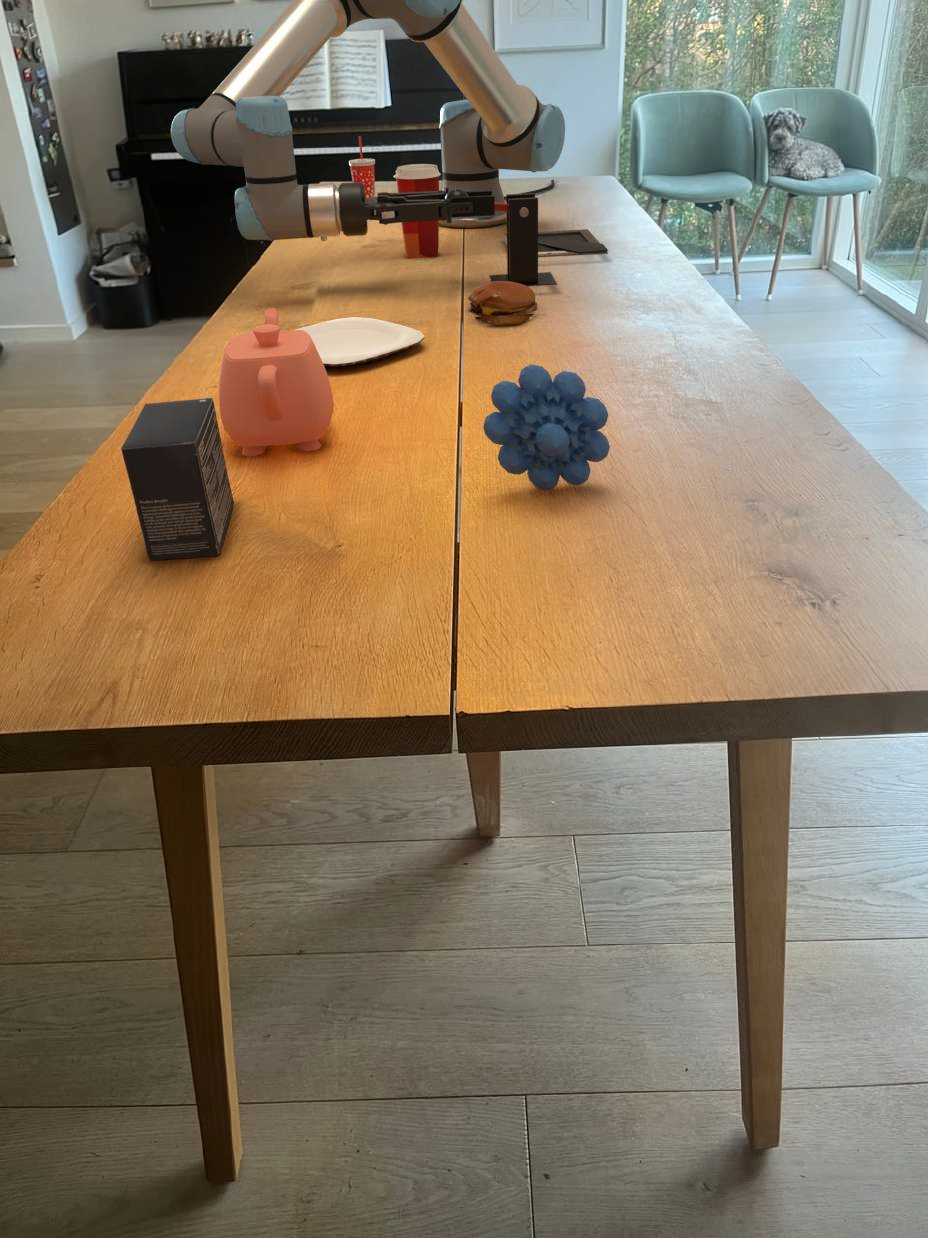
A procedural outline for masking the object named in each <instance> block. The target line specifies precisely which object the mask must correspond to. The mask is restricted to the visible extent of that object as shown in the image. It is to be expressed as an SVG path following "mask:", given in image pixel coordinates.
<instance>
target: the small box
mask: <svg viewBox="0 0 928 1238" xmlns="http://www.w3.org/2000/svg"><path fill="white" fill-rule="evenodd" d="M142 407H143V408H142V409H141V411H140V412H139V415H138V416H137V419H136V420H135V422H134V424H133V426H132V427H131V429H130V431H129V433H128V435H127V437H126V438H125V440H124V441H123V443H122V446H121V447H120V450H121V454H122V458H123V462H124V466H125V470H126V473H127V478H128V481H129V485H130V489H131V494H132V498H133V501H134V505H135V510H136V514H137V518H138V522H139V526H140V530H141V533H142V538H143V543H144V546H145V551H146V555H147V558H148V560H149V561H159V560H160V561H161V560H174V559H175V560H176V559H187V558H201V557H213V556H214V557H215V556H219V555H221V551H222V548H223V546H224V541H225V537H226V533H227V530H228V526H229V524H230V523H229V522H230V519H231V515H232V512H233V509H234V508H233V507H234V504H235V501H234V496H233V492H232V488H231V482H230V479H229V474H228V468H227V465H226V459H225V454H224V448H223V444H222V443H223V442H222V437H221V433H220V428H219V422H218V418H217V411H216V408H215V401H214V398H213V397H208V398H206V397H205V398H195V399H184V400H172V401H162V402H161V401H160V402H150V403H149V402H148V403H144V405H143V406H142Z"/></svg>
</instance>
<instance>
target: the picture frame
mask: <svg viewBox="0 0 928 1238" xmlns="http://www.w3.org/2000/svg"><path fill="white" fill-rule="evenodd" d="M504 244H505V246H506V247H507V232H506V233H504ZM552 252H553V253H552ZM608 254H609V249H608V248H607V247H606V246H605V245H604V244H603V243H601V242H600V241H599V240H598V239H597V237H595V236H594V234H593V233H592V232H591V231H590V230H589V229H588V228H586V229H585V228H584V229H565V230H546V231H545V230H544V231H538V258H552V257H553V258H555V257H570V256H571V257H572V256H589V255H590V256H591V255H592V256H593V255H608Z"/></svg>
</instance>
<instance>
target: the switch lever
mask: <svg viewBox="0 0 928 1238" xmlns="http://www.w3.org/2000/svg"><path fill="white" fill-rule="evenodd" d="M451 197H469V196H468V194H467V193H466V192H465V191H463V190H461V189H453V190H451V191H450V192H448V194H447V195H446V197H445V199H449V200H451ZM495 211H506V212H509V204H507V203H506V202H505V203H496V202H495ZM451 216H452V214H451Z"/></svg>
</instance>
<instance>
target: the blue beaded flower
mask: <svg viewBox="0 0 928 1238" xmlns="http://www.w3.org/2000/svg"><path fill="white" fill-rule="evenodd" d="M517 381H518V384H517V383H516V382H513V381H509V380H502V381H499V382H498V383H497V384H495V385H493V387H492V391H491V395H490V399H491V402H492V405H493V406H494V407H495V409H497V410H498V411H493V412H492V413H489V414H488V415H487V416H486V417H485V419H484V422H483V427H482V428H483V429H482V430H483V432H484V435H485V436H486V438H487V439H488V440H490V441H491V442H492V444H494V445H498V446H500V447H499V451H498V454H497V459H498V463H499V466H501V468H502V469H504V471H505V472H507V473H508V474H512V475H517V476H518V475H522V474H524V473H525V472H526V475H527V478H528V481H529V482H530V483H531V484H532V485H533V486H534V487H535V488H536V489H539V490H542V491H549V490H552V489H554V488H556V486H558V483H559V480H560V477H561V478H562V480H563V481H565V482H566V483H567V484H569V485H573V486H580V485H583V484H584V483H586V482H587V481H588V480H589V478H590V474H591V471H592V469H591V466H590V463H589V462H593V463H599V462H601V461H603V460H605V459H606V458H607V457H608V454H609V452H610V449H611V445H610V443H609V440H608V438H607V437H606V435H605V434H604V433H603V432H602V431H600V430H601V429H603V428H604V427H605V426H606V424H607V421H608V419H609V413H608V409H607V407H606V404H605V403H603V402H602V401H601V400H600V399H599V398H595V397H590V396H586V397H585V394H586V391H587V389H586V385H585V381H584V380H583V379H582V377H581V376H579V375H578V373H576V372H572V371H567V370H563V371H561V372H559V373H557V374H556V375H555V376H554V378H552V376H551V374H550V372H549V371H548V370H547V369H546V368H545V367H544V366H542V365H539V364H538V365H537V364H532V363H531V364H530V363H529V364H528V365H527V366H525V367H523V368H522V369H521V370H520V373H519V376H518V380H517Z"/></svg>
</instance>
